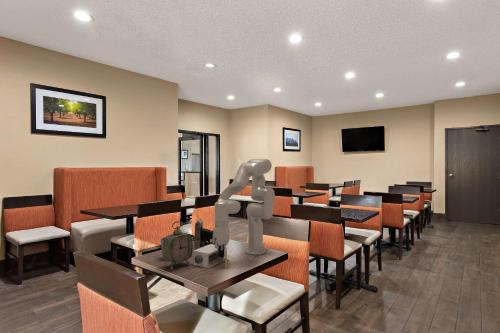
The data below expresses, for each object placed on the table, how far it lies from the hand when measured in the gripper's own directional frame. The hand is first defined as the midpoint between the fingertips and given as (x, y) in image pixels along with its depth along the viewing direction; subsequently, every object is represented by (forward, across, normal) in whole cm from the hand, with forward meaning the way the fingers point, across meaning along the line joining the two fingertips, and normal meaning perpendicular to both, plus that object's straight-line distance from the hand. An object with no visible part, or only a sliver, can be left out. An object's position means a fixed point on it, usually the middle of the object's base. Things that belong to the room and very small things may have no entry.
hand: (221, 256), depth 163 cm
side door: (+5, -4, +1) cm, 6 cm away
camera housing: (+5, -2, -10) cm, 11 cm away
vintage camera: (+5, -21, -26) cm, 34 cm away
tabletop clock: (+5, +12, -22) cm, 25 cm away
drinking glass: (+5, +4, -36) cm, 36 cm away
